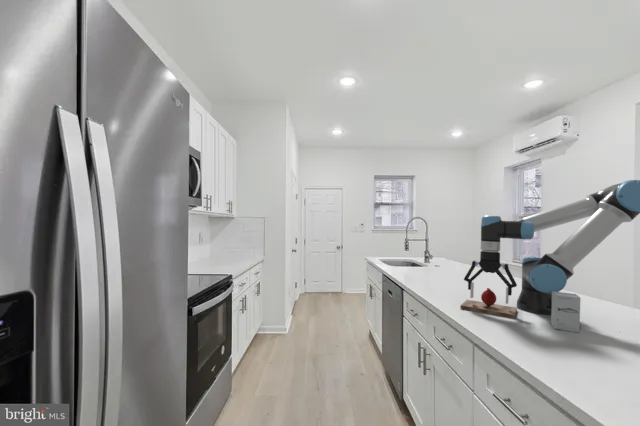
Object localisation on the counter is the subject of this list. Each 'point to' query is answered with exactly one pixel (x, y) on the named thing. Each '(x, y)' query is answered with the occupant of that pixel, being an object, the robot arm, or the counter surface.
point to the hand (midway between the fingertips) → (488, 300)
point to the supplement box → (565, 311)
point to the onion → (488, 297)
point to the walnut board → (489, 308)
